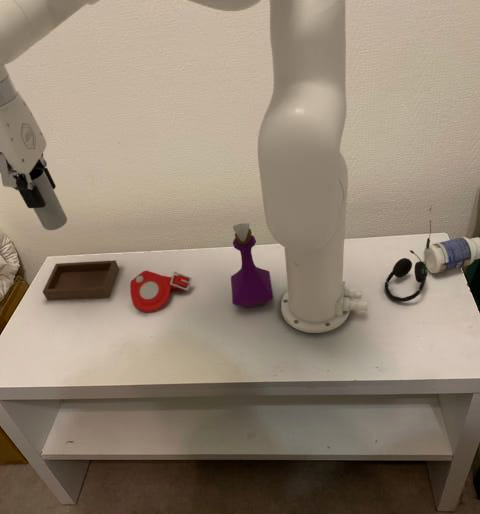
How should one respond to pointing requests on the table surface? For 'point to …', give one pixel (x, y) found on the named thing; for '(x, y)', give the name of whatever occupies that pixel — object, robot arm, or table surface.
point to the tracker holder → (155, 289)
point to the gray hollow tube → (47, 201)
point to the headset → (403, 269)
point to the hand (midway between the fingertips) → (42, 196)
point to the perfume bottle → (249, 273)
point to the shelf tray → (81, 280)
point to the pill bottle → (452, 254)
